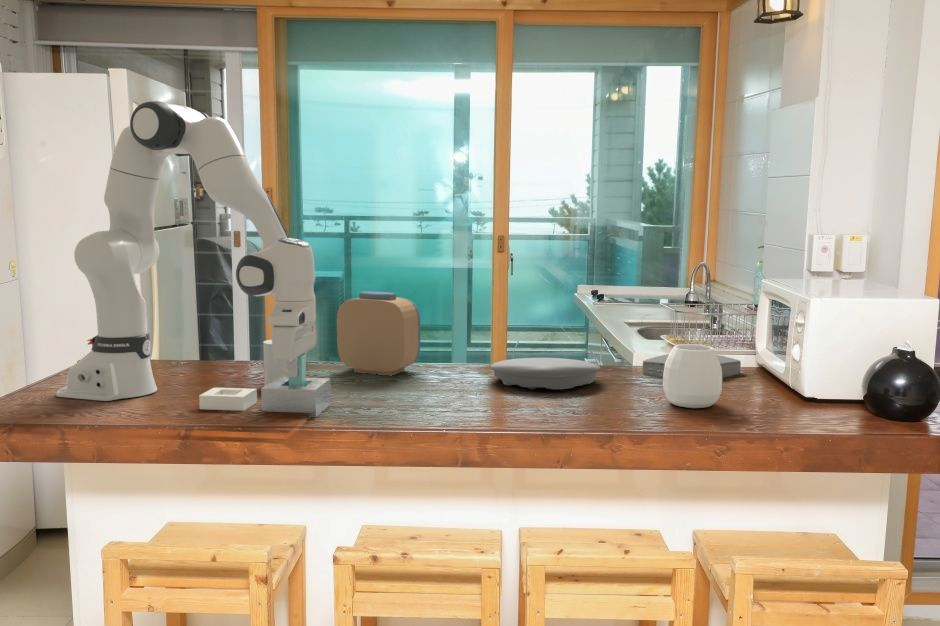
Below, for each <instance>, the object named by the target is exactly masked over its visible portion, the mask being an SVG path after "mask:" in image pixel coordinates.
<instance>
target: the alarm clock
mask: <svg viewBox="0 0 940 626" xmlns="http://www.w3.org/2000/svg"><path fill="white" fill-rule="evenodd" d="M336 334H337V335H336V342H337V344H336V345H337V346H336V347H337V353H338V356H339V359H340V360H341V362H342V363H343V364H344V365H345V366H347V367H349V368H352V369H353V373H356V372H357V374H366V373H369V374H368V375H376V374H378V375H377V376H379V375H380V376H386V375H387V376H388V375H389V376H388V377H393V376H395V375H398V374H400V373H399V372H401V373H403V372H405V370H406V369H405V368H407V367H409V366H411V365H413V364H414V363H416V361H417V360H418V358H419V356H420V352H421V314H420V310H419V307H417V304H416V303H415V302H414V301H413V300H411V299H408V298H405V297H400V296H397V294H396V292H389V291H361V292H359V294H358V297H357V298H352V299H346V300H345V301H343V302H342V303H341V304H340V306H339V307H338V309H337V315H336ZM402 371H403V372H402ZM397 373H398V374H397ZM392 375H393V376H392Z"/></svg>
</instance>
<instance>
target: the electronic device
mask: <svg viewBox="0 0 940 626" xmlns="http://www.w3.org/2000/svg"><path fill="white" fill-rule="evenodd" d="M669 354H670V353H668V354H663V355H657V356H655V357H651V358H647V359H645V360H643V361H642V375H647V376H652V377H656V378H662V379H663V373H664V366H665V363H666V360H667V358H668V355H669ZM716 355H717V357H718V359H719V362H720V365H721V368H722V379H723V378H727V377H732V376H737V375H740V374H741V364H742V363H741V360H740V359H736V358H734V357H729V356H725V355H719V354H716Z"/></svg>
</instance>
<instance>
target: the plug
mask: <svg viewBox="0 0 940 626" xmlns="http://www.w3.org/2000/svg"><path fill="white" fill-rule="evenodd" d="M297 360H298V361H297V368H299V375H298V376H297V377H290V376H289V386H306V378H307V368H306V365H307V361H306V360H307V356H306V354H302V355H300V356H299V357H297ZM288 371H289V369H288Z"/></svg>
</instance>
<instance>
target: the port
mask: <svg viewBox="0 0 940 626" xmlns="http://www.w3.org/2000/svg"><path fill="white" fill-rule="evenodd" d="M331 380H332V379H331V378H329V377H328V378H327V377H326V378H325V377H306V386H289V377H279V378H277V379H275V380H274V381H272V382H271V383H269V384H267V385H266V386H265V385H264V386H263V387H261V388H260V390H261V391H260V393H261V394H260V395H261V398H260V399H261V412H269V413H270V412H271V413H272V412H273V413H274V412H276V413H305V414H308V415H306V418H317V417H318V416H319V415H320V414H321V413H323V412H324V411H325V410H326V409H327V408H329V406H330V405H332V388H331V385H332V384H331V383H332V382H331ZM322 411H323V412H322Z"/></svg>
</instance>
